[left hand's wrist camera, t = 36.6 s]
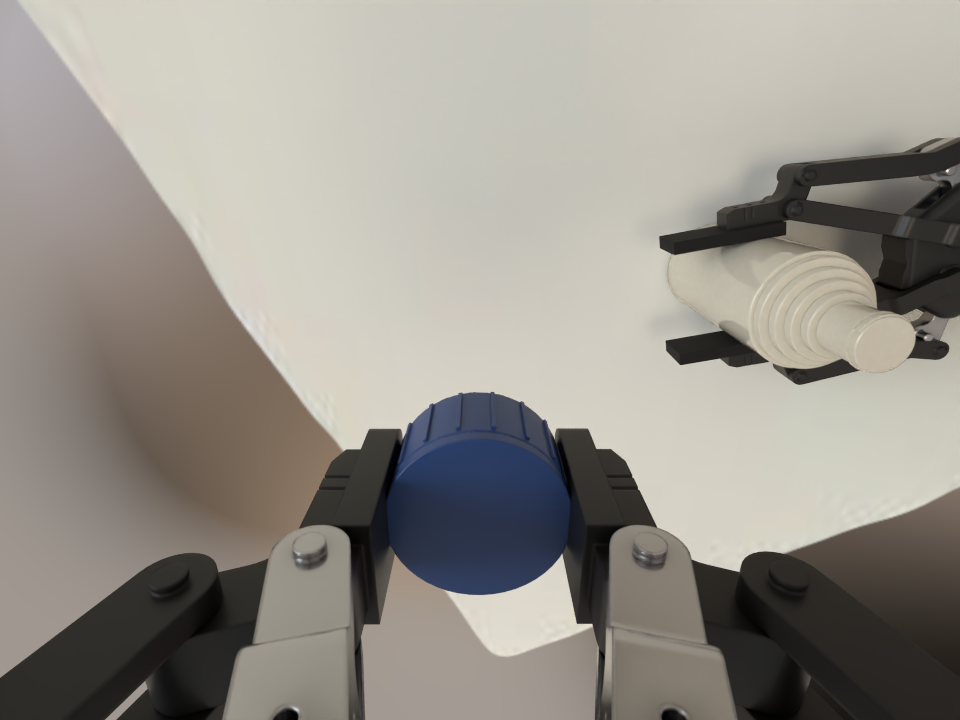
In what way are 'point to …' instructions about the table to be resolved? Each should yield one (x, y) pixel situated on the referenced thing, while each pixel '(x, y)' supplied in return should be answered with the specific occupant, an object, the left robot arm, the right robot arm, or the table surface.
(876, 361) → the bottle
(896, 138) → the table surface
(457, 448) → the cap
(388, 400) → the table surface
